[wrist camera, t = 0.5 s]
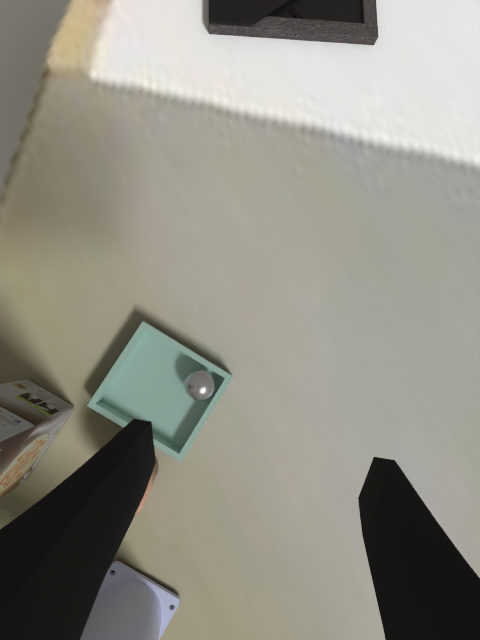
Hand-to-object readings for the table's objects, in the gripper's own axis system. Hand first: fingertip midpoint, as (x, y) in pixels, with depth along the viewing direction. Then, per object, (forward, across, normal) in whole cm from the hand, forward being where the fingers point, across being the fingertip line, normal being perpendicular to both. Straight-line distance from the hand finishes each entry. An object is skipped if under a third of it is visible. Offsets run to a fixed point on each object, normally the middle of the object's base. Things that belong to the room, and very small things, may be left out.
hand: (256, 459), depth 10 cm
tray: (+18, +11, +14) cm, 25 cm away
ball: (+19, +7, +13) cm, 24 cm away
